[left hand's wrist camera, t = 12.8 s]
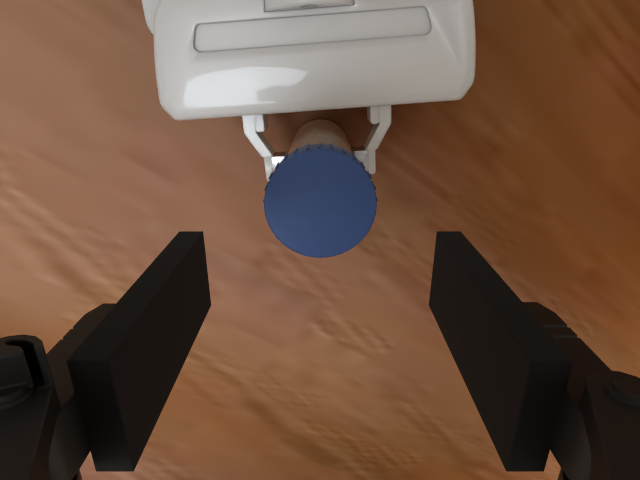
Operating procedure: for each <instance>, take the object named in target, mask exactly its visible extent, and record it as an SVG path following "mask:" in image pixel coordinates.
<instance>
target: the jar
mask: <svg viewBox="0 0 640 480" xmlns="http://www.w3.org/2000/svg"><path fill="white" fill-rule="evenodd" d="M319 142H321V144H328V145H331V144H333V146H336V147H339V148H342V147H343V148H345V150H346V151H348V152H349V153H351V154H353V152H352V150H351V147H350V145H349V142H348V140H347V137H346V135H345V133H344V132H343V130H342V129H341V128H340V127H339V126H338V125H336V124H335V123H333V122H331V121H328V120H322V119H318V120H312V121H309V122H307V123H305V124H304V125H303V126H301V127H300V128H299V130H298V131H297V132H296V134H295V136H294V138H293V140H292V143H291V146H290V148H289V151H288V153H287V155H288V154H290V153H291V152H293V151H295V148H298V149H299V148H301V147H304V146H306V145H307V144H309V145H313V144H319Z"/></svg>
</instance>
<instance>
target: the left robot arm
mask: <svg viewBox="0 0 640 480" xmlns="http://www.w3.org/2000/svg"><path fill="white" fill-rule="evenodd" d="M210 306H211V300H210V291H209V282H208V273H207V264H206V255H205V245H204V236H203V232H179V233H178V234H177V235H176V236H175V237H174V238H173V240H172V241H171V242H170V243H169V244H168V245H167V246H166V248H165V249H164V250H163V251H162V252H161V253H160V254H159V256H158V257H157V258H156V259H155V260H154V261H153V262H152V264H151V265H150V266H149V267H148V268H147V269H146V270H145V272H144V273H143V274H142V275H141V276H140V277H139V278H138V280H137V281H136V282H135V283H134V284H133V285H132V286H131V287H130V289H129V290H128V291H127V292H126V293H125V294H124V295H123V297H122V298H121V299H120V300H119V301H118V302H117V303H116V304H102V305H100V306H99V307H97V308H95V309H93V310H92V311H90V312H88V313H87V314H85V315H84V316H83V317H82V318H81V319H80V320H79V321H78V322H77V323H76V324H75V325H74V326H73V329H71V330H70V331H69V332H68V333H67V334H66V335H65V336H64V337H63V340H60V341H59V342H58V343H57V344H56V345H55V346H54V347H53V348H52V349H51V350H50V351H49V352H48V353H47V354H46V353H45V349H44V346H43V342H42V340H40V339H39V338H37V337H36V336H30V335H15V336H7V337H3V338H0V480H82V477H81V473H80V470H79V469H80V467H81V465H82V464H83V462H84V460H85V459H86V457H87V455H88V454H89V452H90V451H91V454H92V458H93V461H94V465H95V469H96V471H134V469H135V467H136V465H137V463H138V461H139V459H140V456H141V454H142V452H143V450H144V448H145V446H146V444H147V441H148V439H149V437H150V435H151V433H152V431H153V429H154V426H155V424H156V422H157V420H158V418H159V416H160V414H161V411H162V409H163V407H164V405H165V403H166V401H167V399H168V396H169V394H170V392H171V390H172V388H173V386H174V383H175V381H176V379H177V377H178V375H179V373H180V371H181V368H182V366H183V364H184V362H185V360H186V358H187V356H188V353H189V351H190V349H191V347H192V345H193V343H194V341H195V338H196V336H197V334H198V332H199V330H200V328H201V326H202V323H203V321H204V319H205V317H206V315H207V313H208V311H209V308H210ZM429 306H430V308H431V311H432V313H433V315H434V317H435V319H436V321H437V323H438V326H439V328H440V330H441V332H442V334H443V336H444V338H445V341H446V343H447V345H448V347H449V349H450V351H451V353H452V356H453V358H454V360H455V362H456V364H457V366H458V368H459V371H460V373H461V375H462V377H463V379H464V381H465V383H466V386H467V388H468V390H469V392H470V394H471V396H472V399H473V401H474V403H475V405H476V407H477V409H478V411H479V414H480V416H481V418H482V420H483V422H484V424H485V426H486V429H487V431H488V433H489V435H490V437H491V439H492V441H493V444H494V446H495V448H496V450H497V452H498V454H499V456H500V459H501V461H502V463H503V465H504V467H505V469H506V471H544V469H545V465H546V461H547V458H548V454H549V450H551V452H552V453H553V455H554V457H555V458H556V460H557V461H558V463H559V465H560V466H561V470H560V473H559V477H558V480H640V378H638V377H636V376H633V375H629V374H626V373H623V372H618V371H611V370H610V369H609V368H608V367H607V366H606V365H605V364H604V363H603V361H602V360H601V359H600V358H599V357H598V356H597V355H596V354H595V353H594V352H593V351H592V350H591V349H590V348H589V347H588V346H587V345H586V344H585V343H584V342H583V341H582V340H581V339H580V338H577V335H576V334H575V333H574V332H573V331H572V330H571V329H570V328H567V325H566V324H565V322H564V321H563V320H562V319H561V318H560V317H559V316H558V315H557V314H556V313H555V312H553V311H551V310H549V309H548V308H546V307H544V306H542V305H541V304H539V303H537V302H522V301H521V300H520V299H519V298H518V297H517V295H516V294H515V293H514V292H513V291H512V290H511V289H510V287H509V286H508V285H507V284H506V283H505V282H504V281H503V280H502V278H501V277H500V276H499V275H498V274H497V273H496V272H495V270H494V269H493V268H492V267H491V266H490V265H489V264H488V262H487V261H486V260H485V259H484V258H483V257H482V256H481V254H480V253H479V252H478V251H477V250H476V249H475V248H474V246H473V245H472V244H471V243H470V242H469V241H468V240H467V238H466V237H465V236H464V235H463V234H462V233H461V232H437V236H436V245H435V255H434V264H433V273H432V282H431V291H430V300H429Z"/></svg>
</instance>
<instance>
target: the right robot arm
mask: <svg viewBox="0 0 640 480" xmlns="http://www.w3.org/2000/svg"><path fill="white" fill-rule="evenodd" d="M142 4H143V9H144V14H145V19H146V23H147V26H148V29H149V31H150V32H151V34H152V35H153V36H154V59H155V71H156V80H157V88H158V95H159V100H160V104H161V106H162V108H163V109H164V110H165V111H166V112H167V113H168V114H169V115H170V116H171V117H172V118H173V119H175V120H192V119H206V118H220V117H233V116H242V120H243V127H244V134H245V135H246V136H247V138H248V139H249V140H250V142H251V143H252V145H253V146H254V147H255V149H256V150H257V151H258V153H259V154H260V155H261V157H264V163H265V172H266V179H267V181H270V180H269V176H270V174H271V172H274V170H275V167H276V165H277V163H278V162H279V163H280V162H281V161H282V160H283V159H284V157H285V155H286V154H287V152H275V150H274V149H273V147H272V146H271V144H270V143H269V141H268V140H267V139H266V137H265V136H264V134H263V133H262V132H263V131H264V130H265V129H266V128H267V127H268V122H267V114H274V113H288V112H302V111H315V110H329V109H343V108H356V107H367V119H368V120H369V121H370V122H371V123H372V124H374V125H373V127H372V129H371V131H370V133H369V135H368V137H367V139H366V141H365V143H364V145H363V146H358V147H352V152H353V153H354V154H355V157H356V158H357V159H358V160H359V161H360V162H361V161H362V162H363V164H364V166H365V169H366V171H369V173H370V174H375V170H376V165H375V149H377V148H378V146H379V145H380V143H381V141H382V139H383V137H384V135H385V134H386V132H387V130H388V128H389V126H390V124H391V105H398V104H411V103H425V102H439V101H452V100H460V99H461V98H463V96H464V95H465V94H466V93H467V91H468V90H469V89H470V87H471V86H472V84H473V82H474V78H475V63H476V36H475V17H474V5H473V0H142Z"/></svg>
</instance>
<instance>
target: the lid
mask: <svg viewBox="0 0 640 480" xmlns="http://www.w3.org/2000/svg"><path fill="white" fill-rule="evenodd" d="M371 178H372V177H371V175H370V173H369V171H366V169H365V166H364V164H363V162H362V161H361V162H360V161H359V160H358V159H357V158H356V157H355V154H354V153H353V154H351V153H349V152H348V151H346V150H345V148H343V147H342V148H339V147H336V146H333V144H331V145H328V144H321V142H319V144H313V145H309V144H307V145H306V146H304V147H301V148H299V149H298V148H295V151H293V152H291V153H290V154H288V155H287V154H286V155H285V157H284V159H283V160H282V161H281V162H280V163H279V162H278V163H277V165H276V167H275V170H274V172H271V174H270V176H269V180H270V181H269V183H267V185H266V187H265V191H266V192H265V198H264V200H263V201H264V209H265V215H266V219H267V222H268V224H269V227H270V228H271V230H272V232H273V233H274V235H275V236H276V237H277V239H278V240H279V241H280V242H281V243H283V244H284V245H285V246H286V247H288V248H289V249H291V250H293V251H295V252H297V253H299V254H302V255H305V256H310V257H319V258H321V257H331V256H335V255H339V254H342V253H344V252H346V251H348V250H350V249H351V248H353V247H354V246H356V245H357V244H358V243H359V242H360V241H361V240H362V239H363V238H364V237H365V236H366V234H367V233H368V231H369V230H370V228H371V226H372V223H373V221H374V218H375V214H376V201H377V198H376V193H375V190H376V188H375V186H374V184H373V182H372V181H371Z"/></svg>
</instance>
